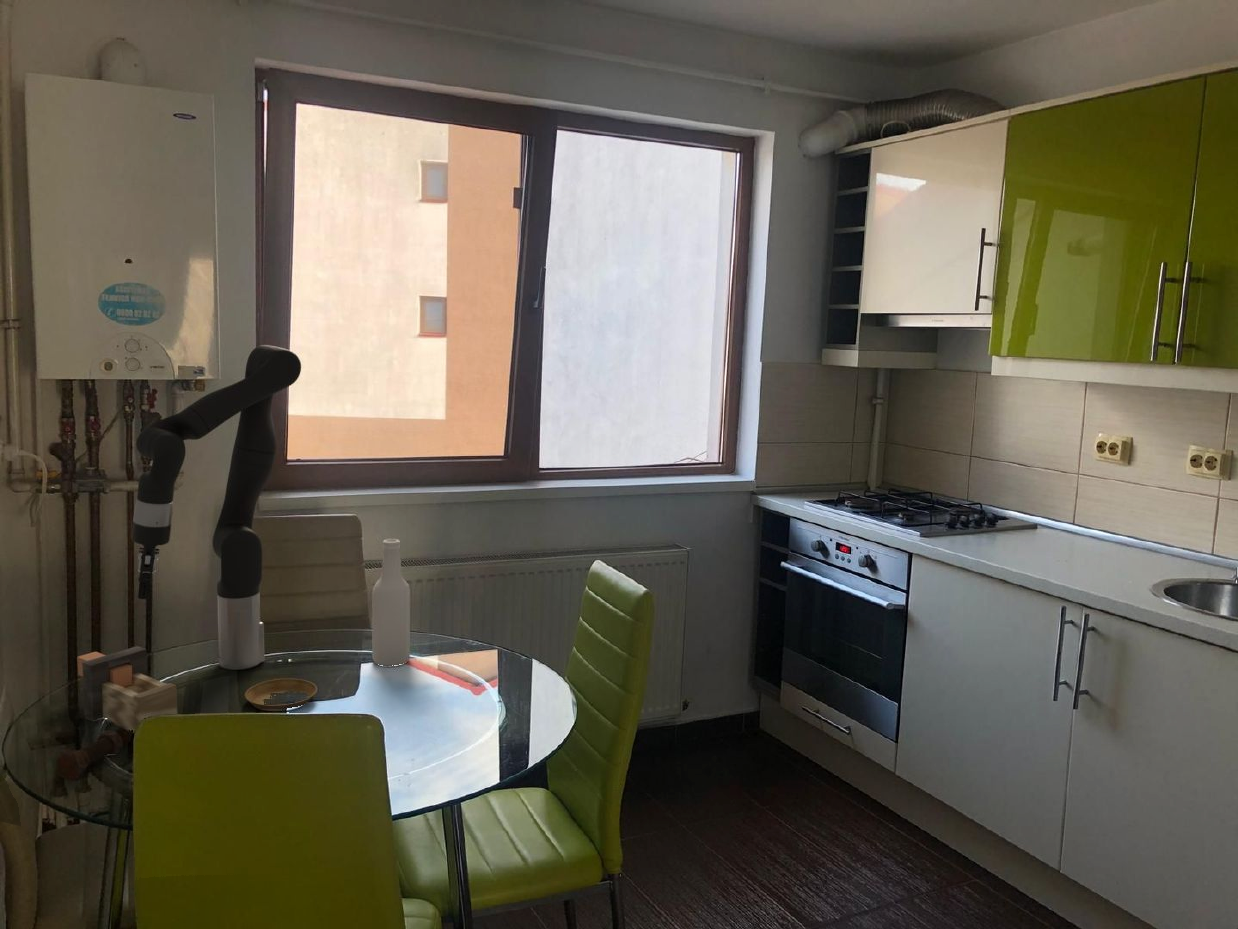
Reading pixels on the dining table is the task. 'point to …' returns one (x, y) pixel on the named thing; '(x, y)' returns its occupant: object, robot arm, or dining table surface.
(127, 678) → the peg
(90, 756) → the bolt
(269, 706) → the plant saucer
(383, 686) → the dining table surface
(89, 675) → the frame
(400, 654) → the alcohol
